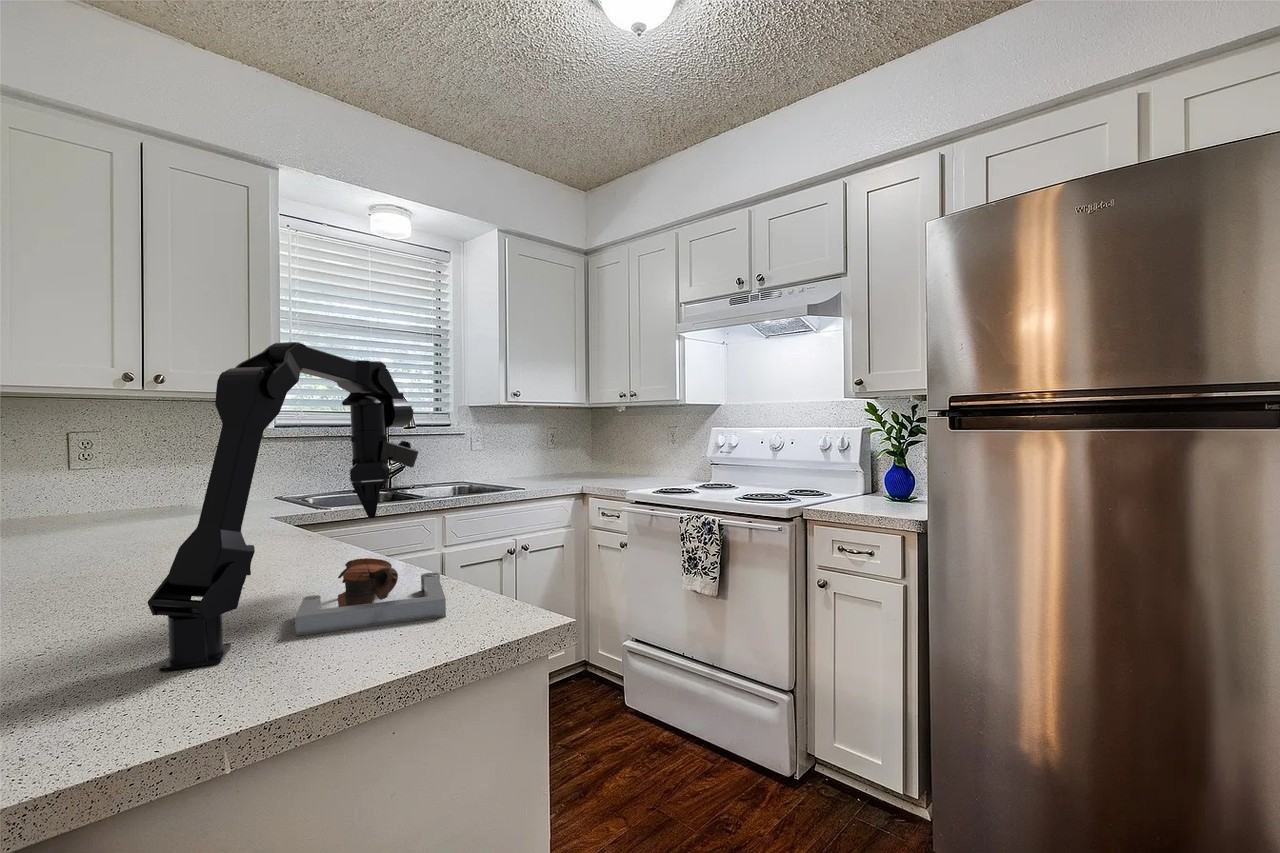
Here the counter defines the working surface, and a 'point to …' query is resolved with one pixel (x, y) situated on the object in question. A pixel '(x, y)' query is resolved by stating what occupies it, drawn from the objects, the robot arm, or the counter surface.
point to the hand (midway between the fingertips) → (371, 513)
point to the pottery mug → (366, 581)
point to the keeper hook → (372, 610)
